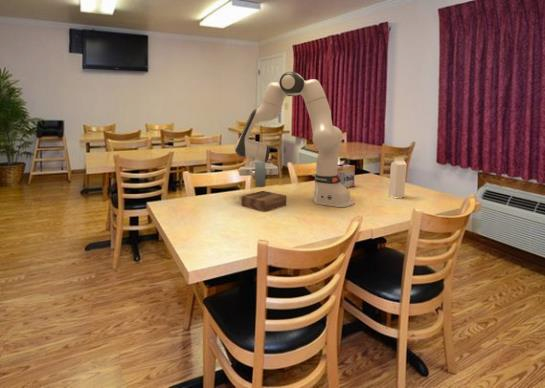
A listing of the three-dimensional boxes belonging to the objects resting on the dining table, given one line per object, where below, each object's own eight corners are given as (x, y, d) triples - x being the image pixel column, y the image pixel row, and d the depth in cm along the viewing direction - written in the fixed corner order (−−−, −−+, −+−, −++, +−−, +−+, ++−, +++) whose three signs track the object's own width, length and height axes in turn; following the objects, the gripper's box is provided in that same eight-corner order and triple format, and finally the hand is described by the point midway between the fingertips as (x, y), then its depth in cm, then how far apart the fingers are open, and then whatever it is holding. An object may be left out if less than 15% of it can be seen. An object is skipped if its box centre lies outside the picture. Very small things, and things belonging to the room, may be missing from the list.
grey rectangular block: (267, 185, 195) (267, 162, 192) (260, 187, 191) (260, 163, 188) (259, 184, 198) (259, 161, 195) (253, 186, 194) (252, 162, 191)
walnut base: (286, 205, 198) (286, 195, 197) (265, 211, 186) (265, 201, 185) (262, 199, 208) (262, 190, 207) (241, 205, 196) (241, 196, 195)
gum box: (347, 184, 248) (348, 163, 245) (356, 186, 242) (357, 165, 239) (318, 188, 235) (318, 166, 232) (326, 191, 229) (327, 168, 226)
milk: (403, 198, 214) (407, 158, 209) (394, 198, 212) (397, 158, 207) (397, 195, 220) (401, 156, 214) (388, 196, 218) (391, 157, 213)
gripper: (236, 163, 203) (239, 167, 189) (275, 162, 206) (280, 166, 193) (237, 175, 204) (239, 180, 191) (275, 174, 208) (280, 179, 194)
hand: (260, 173), depth 192 cm, fingers closed on grey rectangular block, 5 cm apart
